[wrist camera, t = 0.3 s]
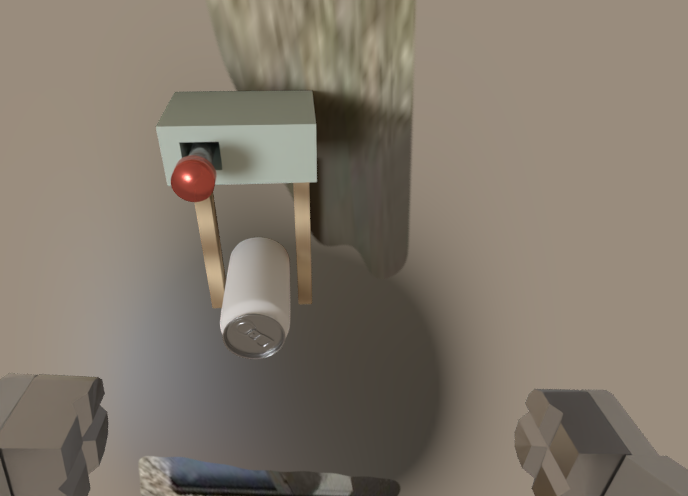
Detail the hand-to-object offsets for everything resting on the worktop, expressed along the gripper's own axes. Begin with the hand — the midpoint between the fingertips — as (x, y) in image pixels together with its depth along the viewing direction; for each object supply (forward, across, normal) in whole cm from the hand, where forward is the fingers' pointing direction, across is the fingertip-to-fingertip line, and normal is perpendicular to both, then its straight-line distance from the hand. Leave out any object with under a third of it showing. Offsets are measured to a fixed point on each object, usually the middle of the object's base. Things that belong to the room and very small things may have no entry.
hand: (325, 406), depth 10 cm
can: (+42, +3, +21) cm, 47 cm away
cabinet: (+40, +4, +5) cm, 41 cm away
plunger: (+35, +7, +6) cm, 36 cm away
